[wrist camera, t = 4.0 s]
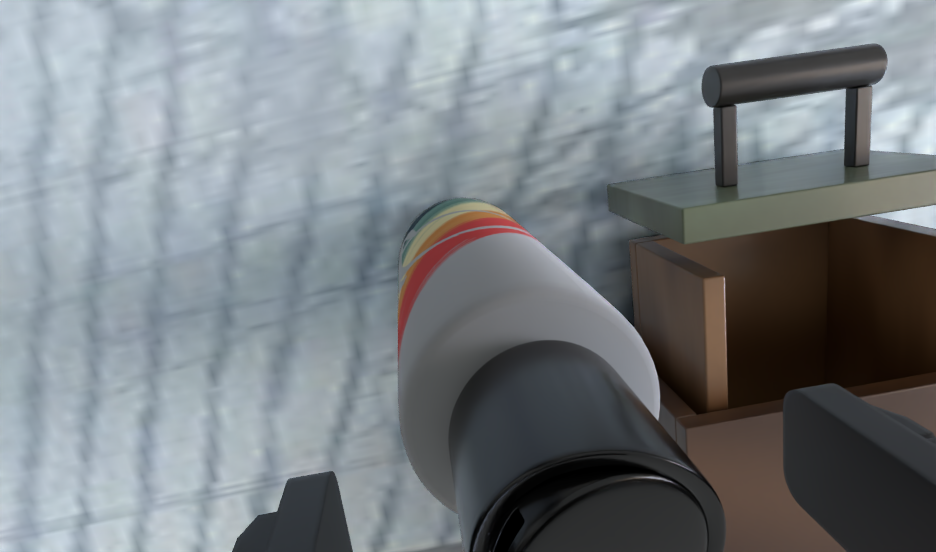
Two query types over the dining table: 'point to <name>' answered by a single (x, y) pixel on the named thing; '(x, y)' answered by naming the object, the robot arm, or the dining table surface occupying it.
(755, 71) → the drawer
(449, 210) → the lotion bottle
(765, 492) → the cabinet
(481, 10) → the dining table surface
